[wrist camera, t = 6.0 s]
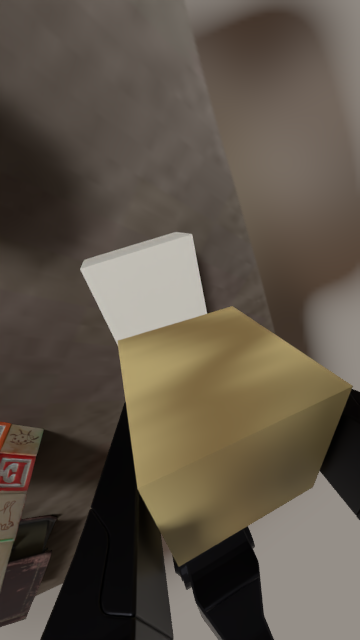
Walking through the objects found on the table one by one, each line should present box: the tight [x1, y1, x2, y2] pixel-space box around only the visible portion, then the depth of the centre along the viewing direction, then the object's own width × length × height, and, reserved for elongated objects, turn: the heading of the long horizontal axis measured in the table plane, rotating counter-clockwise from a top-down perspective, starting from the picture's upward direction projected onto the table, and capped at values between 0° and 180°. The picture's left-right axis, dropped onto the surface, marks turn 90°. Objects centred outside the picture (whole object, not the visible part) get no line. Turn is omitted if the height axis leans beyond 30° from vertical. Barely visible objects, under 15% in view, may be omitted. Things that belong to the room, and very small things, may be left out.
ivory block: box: [80, 232, 207, 345], centre depth 17 cm, size 8×8×4 cm
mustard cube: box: [118, 306, 353, 567], centre depth 7 cm, size 5×5×5 cm
